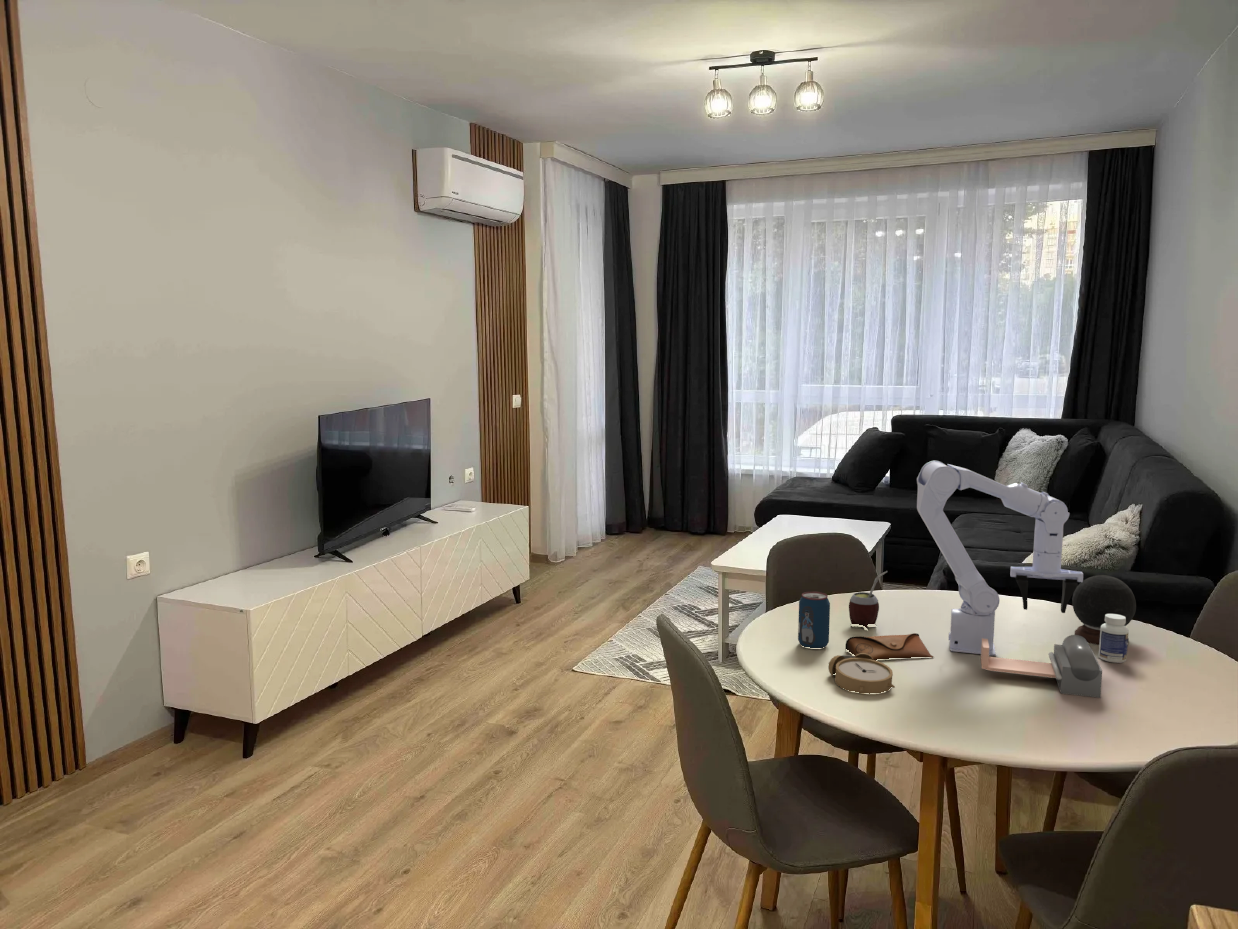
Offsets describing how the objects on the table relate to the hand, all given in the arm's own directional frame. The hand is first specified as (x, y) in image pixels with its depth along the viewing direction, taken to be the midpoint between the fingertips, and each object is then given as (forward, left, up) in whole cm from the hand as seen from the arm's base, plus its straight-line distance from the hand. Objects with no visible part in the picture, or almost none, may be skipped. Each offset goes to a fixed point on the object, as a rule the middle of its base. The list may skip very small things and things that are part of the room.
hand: (1043, 610), depth 201 cm
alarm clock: (-37, -32, -10) cm, 50 cm away
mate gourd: (-39, +4, -10) cm, 40 cm away
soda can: (-49, -14, -10) cm, 52 cm away
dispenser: (+5, -19, -9) cm, 21 cm away
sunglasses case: (-32, -14, -10) cm, 36 cm away
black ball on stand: (+14, +14, -10) cm, 22 cm away
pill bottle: (+14, -1, -10) cm, 17 cm away
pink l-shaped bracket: (-6, -19, -8) cm, 21 cm away
